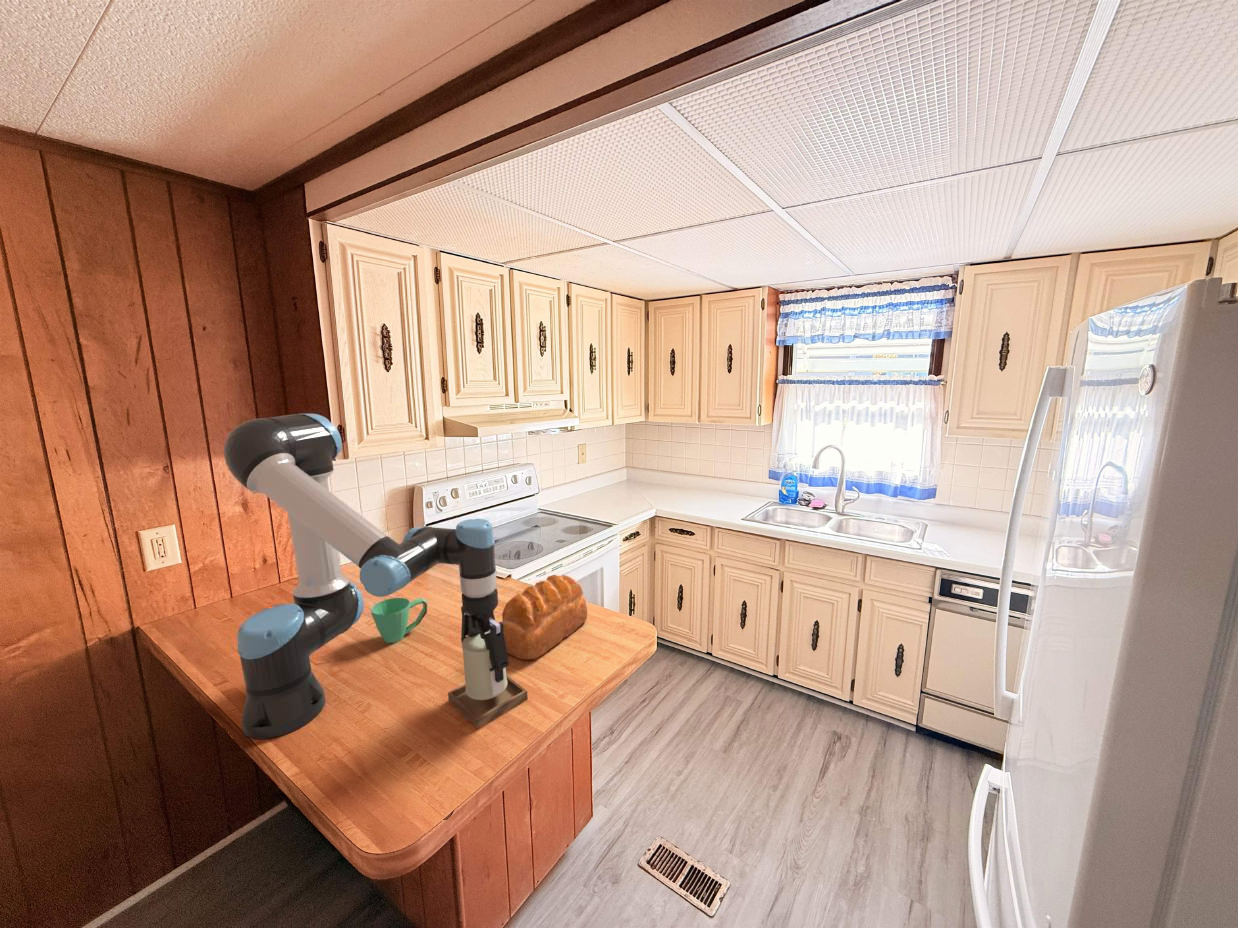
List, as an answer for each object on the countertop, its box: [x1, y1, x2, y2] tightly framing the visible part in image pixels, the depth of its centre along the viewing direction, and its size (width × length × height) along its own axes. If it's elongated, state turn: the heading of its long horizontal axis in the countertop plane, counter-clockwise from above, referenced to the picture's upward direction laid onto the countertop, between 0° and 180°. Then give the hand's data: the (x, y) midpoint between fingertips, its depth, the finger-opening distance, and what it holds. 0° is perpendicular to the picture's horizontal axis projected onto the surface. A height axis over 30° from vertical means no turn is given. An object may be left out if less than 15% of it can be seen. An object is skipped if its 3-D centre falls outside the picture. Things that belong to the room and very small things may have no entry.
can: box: [461, 631, 507, 700], centre depth 108 cm, size 9×9×12 cm
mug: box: [370, 597, 428, 644], centre depth 136 cm, size 15×10×10 cm
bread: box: [501, 574, 588, 661], centre depth 135 cm, size 14×26×16 cm, turn 148°
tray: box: [447, 674, 528, 730], centre depth 109 cm, size 13×13×2 cm
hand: (486, 682), depth 109 cm, fingers closed on can, 9 cm apart
